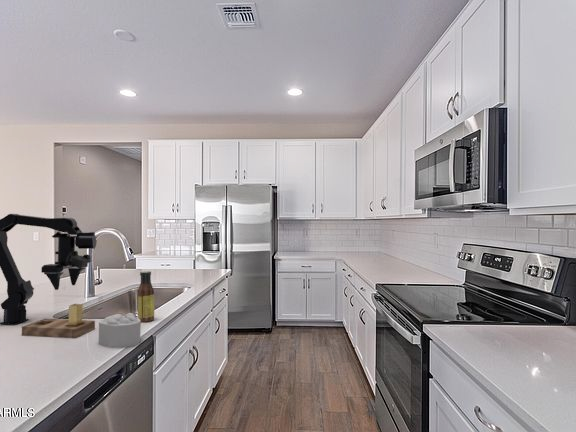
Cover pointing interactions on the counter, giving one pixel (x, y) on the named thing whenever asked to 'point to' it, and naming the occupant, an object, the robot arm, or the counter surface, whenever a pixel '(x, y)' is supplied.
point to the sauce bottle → (145, 298)
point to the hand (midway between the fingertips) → (65, 287)
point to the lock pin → (75, 315)
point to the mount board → (57, 328)
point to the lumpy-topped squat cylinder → (119, 331)
